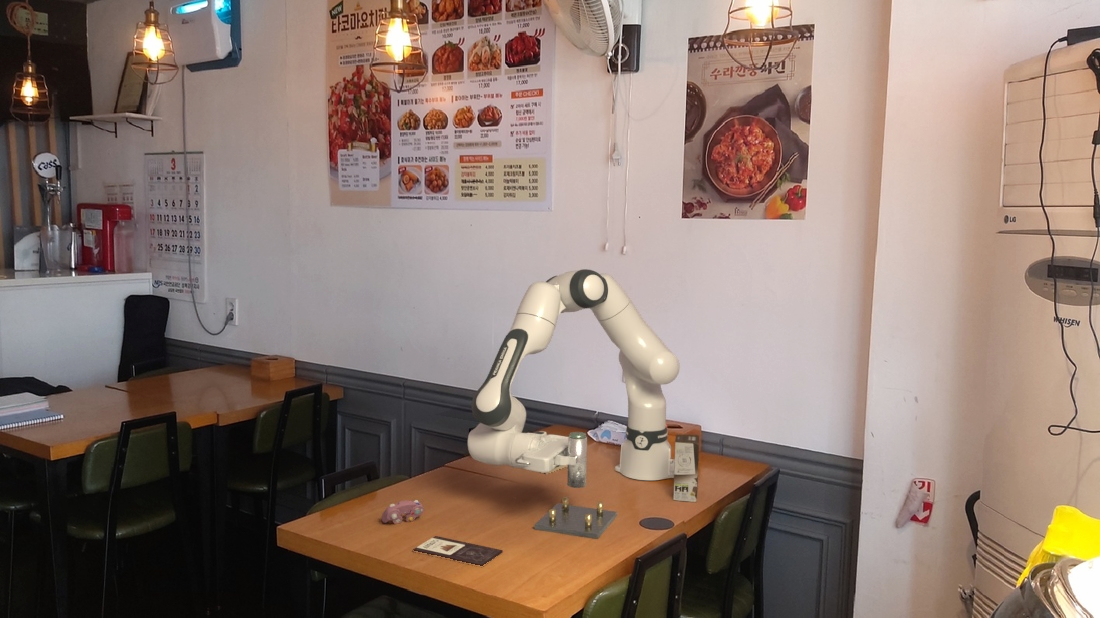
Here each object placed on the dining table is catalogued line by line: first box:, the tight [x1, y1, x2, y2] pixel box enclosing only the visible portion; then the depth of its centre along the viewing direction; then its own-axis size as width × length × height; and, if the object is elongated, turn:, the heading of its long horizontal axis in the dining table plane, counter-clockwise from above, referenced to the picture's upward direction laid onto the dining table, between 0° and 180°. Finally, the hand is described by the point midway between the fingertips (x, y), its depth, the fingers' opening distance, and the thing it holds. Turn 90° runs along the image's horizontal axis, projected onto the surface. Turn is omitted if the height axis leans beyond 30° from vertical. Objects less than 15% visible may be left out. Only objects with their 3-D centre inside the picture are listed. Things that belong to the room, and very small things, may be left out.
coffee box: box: [672, 434, 700, 503], centre depth 220 cm, size 9×6×16 cm
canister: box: [566, 431, 588, 489], centre depth 199 cm, size 5×5×13 cm
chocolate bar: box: [412, 535, 504, 567], centre depth 182 cm, size 9×1×18 cm
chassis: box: [533, 496, 618, 540], centre depth 200 cm, size 16×16×4 cm
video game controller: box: [381, 499, 425, 525], centre depth 200 cm, size 10×5×7 cm, turn 118°
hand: (580, 457), depth 199 cm, fingers closed on canister, 5 cm apart
